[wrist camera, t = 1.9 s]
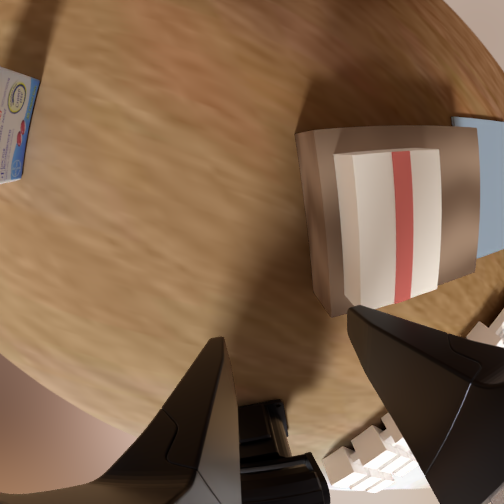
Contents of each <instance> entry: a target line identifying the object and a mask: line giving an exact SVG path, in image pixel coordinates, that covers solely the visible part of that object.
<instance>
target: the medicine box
mask: <svg viewBox="0 0 504 504" xmlns="http://www.w3.org/2000/svg"><path fill="white" fill-rule="evenodd" d="M39 83H40V81H39V80H38V79H35V78H32V77H29V76H27V75H24V74H21V73H18V72H15V71H12V70H9V69H6V68H3V67H0V184H2V183H7V182H12V181H16V180H20V179H21V176H22V170H23V161H24V153H25V147H26V140H27V134H28V129H29V124H30V119H31V115H32V110H33V106H34V102H35V98H36V94H37V90H38V87H39Z"/></svg>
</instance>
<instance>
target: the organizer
mask: <svg viewBox="0 0 504 504" xmlns="http://www.w3.org/2000/svg"><path fill="white" fill-rule="evenodd" d="M466 338H467V339H469V340H472V341H477V342H481V343H485V344H489V345H494V346H499V347H504V308H503V310H502V311H501V312H500V314H499V315H498V316H497V318H496V319H495V320H494V322H493V323H492V324H491V326H490V327H489V328H488V327H487V326H485V325H484V324H483V323H481V322H480V321H479V322H478V323H477V324H476V325H475V327H474V328H473V329H472V330H471V331H470V333H469V334H468V335H467V336H466ZM381 420H382V422H383V423H384V425H385V427H386V428H387V429H386V430H384V431H383V430H381V429H379V428H377V427H376V426H374V425H371V426H370V427H369V428H367V429H366V430H365V431H363V432H362V433H361V434H359V435H358V436H357V437H355V438H354V439H352V440H351V442H352V444H353V447H354V449H355V451H353V450H351V449H348V448H346V447H343V446H342V447H341V448H339V449H338V450H336V451H335V452H333V453H332V454H330V455H329V456H327V457H326V458H324V459H322V462H323V465H324V467H325V470H326V473H327V475H328V478H329V481H330V483H331V485H332V486H337V487H342V488H347V487H348V486H349V487H350V489H353V490H359V491H363V490H366V492H372V493H377V492H379V491H380V490H382V489H384V488H385V487H387V486H388V485H390V484H392V483H393V482H395V481H394V479H393V477H392V475H391V473H393V475H397V476H401V477H402V476H403V475H405V474H406V473H408V472H409V471H411V470H412V469H413V468H415V467H416V466H417V465H419V464H418V463H417V461H416V459H415V457H414V455H413V454H412V452H411V450H410V448H409V447H408V445H407V443H406V441H405V440H404V438H403V436H402V434H401V433H400V431H399V429H398V427H397V426H396V424H395V422H394V421H393V419H392V417H391V415H390V414H389V412H388V413H387V414H385V415H384V416H383V417H382V418H381Z"/></svg>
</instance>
